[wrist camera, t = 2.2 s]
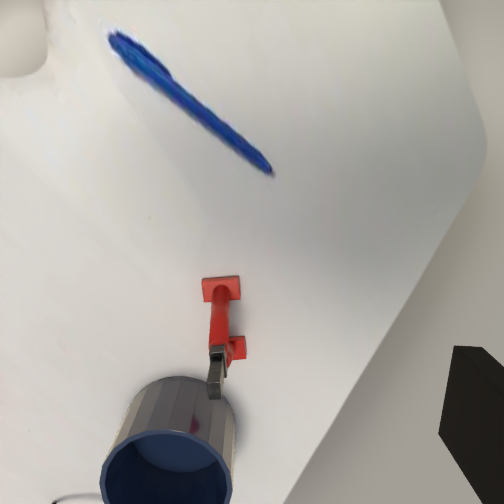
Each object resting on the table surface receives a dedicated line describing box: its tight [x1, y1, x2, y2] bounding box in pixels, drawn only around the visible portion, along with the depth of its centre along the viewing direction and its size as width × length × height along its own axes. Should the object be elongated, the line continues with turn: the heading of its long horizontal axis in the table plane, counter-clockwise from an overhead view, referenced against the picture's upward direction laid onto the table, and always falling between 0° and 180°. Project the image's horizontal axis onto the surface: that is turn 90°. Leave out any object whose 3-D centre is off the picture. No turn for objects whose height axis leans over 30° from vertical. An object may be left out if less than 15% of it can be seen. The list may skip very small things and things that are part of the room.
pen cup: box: [99, 377, 236, 504], centre depth 37 cm, size 10×10×8 cm
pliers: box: [202, 276, 246, 400], centre depth 33 cm, size 3×7×12 cm, turn 5°
